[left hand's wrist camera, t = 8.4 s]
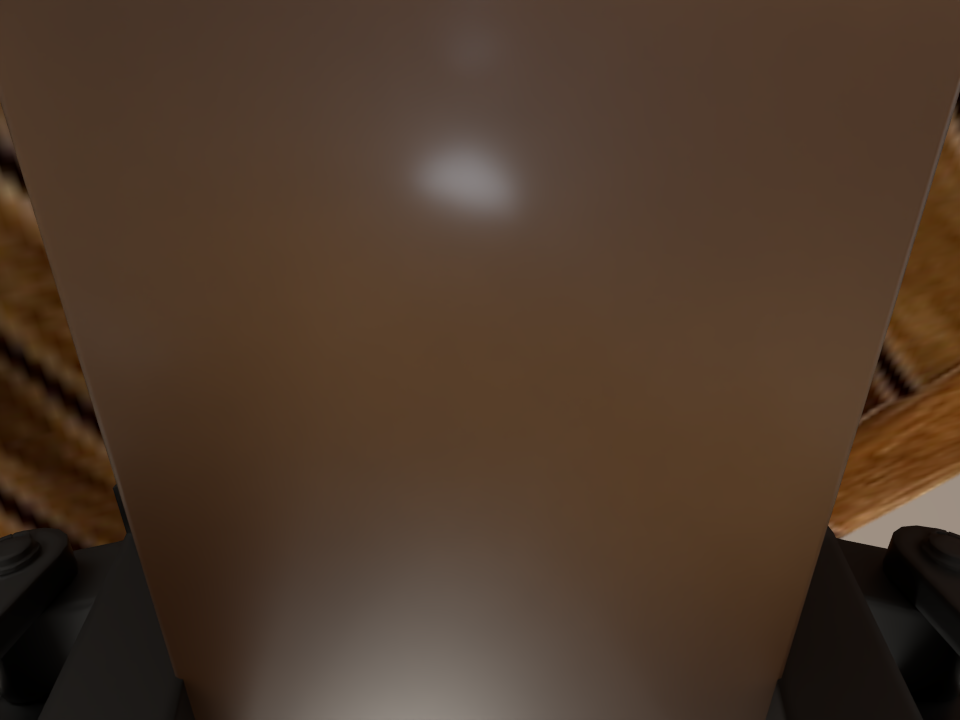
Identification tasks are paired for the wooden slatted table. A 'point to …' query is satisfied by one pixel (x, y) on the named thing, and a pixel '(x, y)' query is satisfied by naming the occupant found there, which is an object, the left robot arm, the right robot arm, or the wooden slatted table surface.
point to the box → (478, 328)
